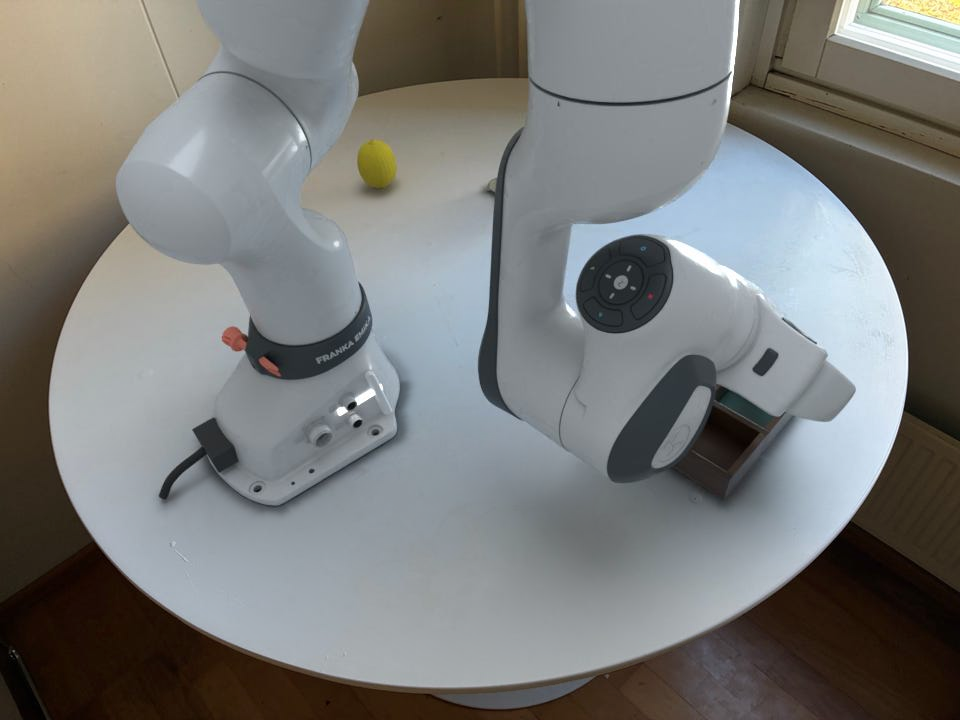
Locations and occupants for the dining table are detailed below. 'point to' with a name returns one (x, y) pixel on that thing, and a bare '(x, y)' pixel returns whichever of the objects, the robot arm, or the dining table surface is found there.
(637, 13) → the robot arm
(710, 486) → the grid
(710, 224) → the dining table surface
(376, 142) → the lemon
